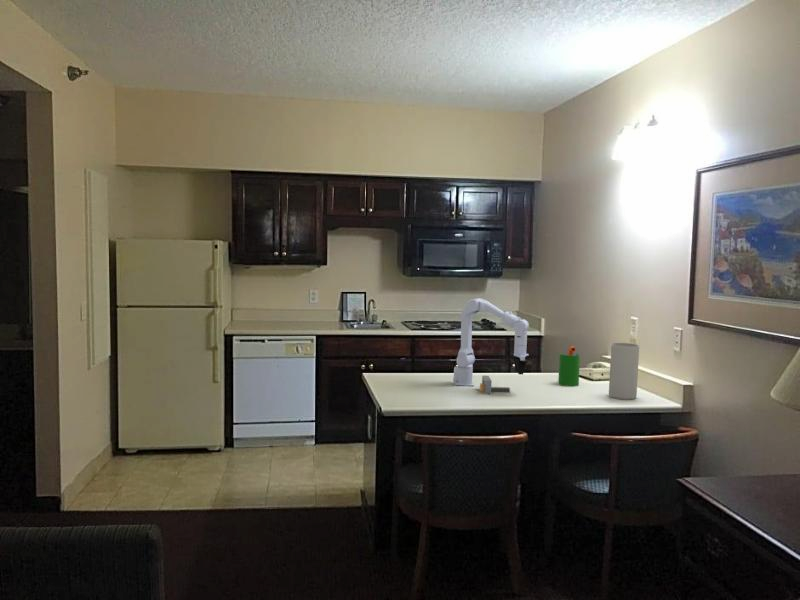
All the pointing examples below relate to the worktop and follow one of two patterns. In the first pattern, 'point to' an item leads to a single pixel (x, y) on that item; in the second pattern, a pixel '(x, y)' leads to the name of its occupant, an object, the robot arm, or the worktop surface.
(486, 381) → the bracket
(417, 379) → the worktop surface
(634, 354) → the cylinder vase
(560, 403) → the worktop surface
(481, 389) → the plug
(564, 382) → the green upright cylinder
